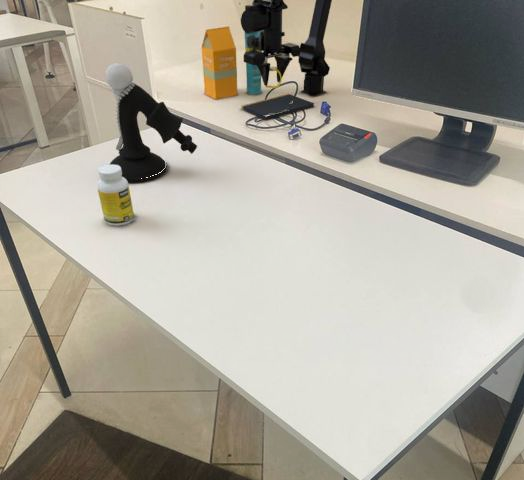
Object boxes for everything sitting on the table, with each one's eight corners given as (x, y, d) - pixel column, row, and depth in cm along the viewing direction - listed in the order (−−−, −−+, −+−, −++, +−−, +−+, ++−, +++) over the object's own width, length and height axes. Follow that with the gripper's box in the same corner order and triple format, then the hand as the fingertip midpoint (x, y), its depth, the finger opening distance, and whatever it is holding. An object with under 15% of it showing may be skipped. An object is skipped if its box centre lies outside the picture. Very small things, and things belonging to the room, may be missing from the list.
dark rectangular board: (288, 97, 181) (288, 93, 180) (313, 106, 173) (313, 103, 172) (241, 109, 172) (241, 105, 171) (266, 120, 164) (266, 116, 163)
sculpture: (117, 157, 143) (98, 54, 126) (204, 160, 142) (195, 56, 125) (100, 182, 132) (76, 72, 115) (194, 185, 130) (183, 74, 113)
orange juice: (237, 94, 183) (235, 28, 169) (215, 99, 179) (211, 32, 166) (226, 89, 188) (223, 24, 174) (204, 93, 184) (199, 27, 171)
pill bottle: (120, 229, 114) (109, 178, 106) (98, 222, 117) (86, 171, 109) (140, 217, 118) (131, 166, 110) (119, 210, 121) (109, 160, 113)
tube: (251, 96, 181) (250, 32, 168) (241, 93, 184) (239, 30, 171) (266, 92, 185) (266, 29, 172) (257, 89, 188) (256, 26, 175)
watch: (262, 89, 170) (262, 68, 166) (262, 86, 172) (262, 66, 168) (281, 89, 169) (281, 68, 165) (281, 86, 172) (281, 66, 168)
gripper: (279, 19, 168) (278, 72, 179) (231, 27, 160) (234, 83, 170) (302, 25, 162) (300, 80, 172) (254, 34, 153) (255, 91, 164)
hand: (272, 83), depth 170 cm, fingers closed on watch, 5 cm apart
